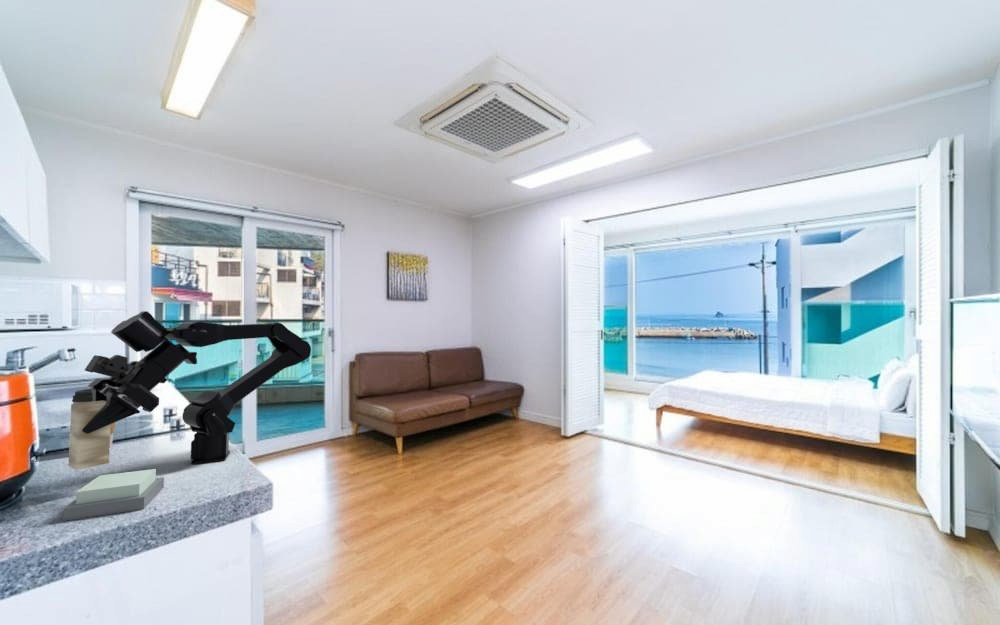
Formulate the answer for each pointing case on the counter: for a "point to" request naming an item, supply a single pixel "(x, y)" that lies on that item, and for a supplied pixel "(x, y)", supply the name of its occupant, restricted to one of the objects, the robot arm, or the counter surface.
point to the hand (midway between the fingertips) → (80, 430)
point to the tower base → (113, 504)
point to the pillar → (87, 437)
